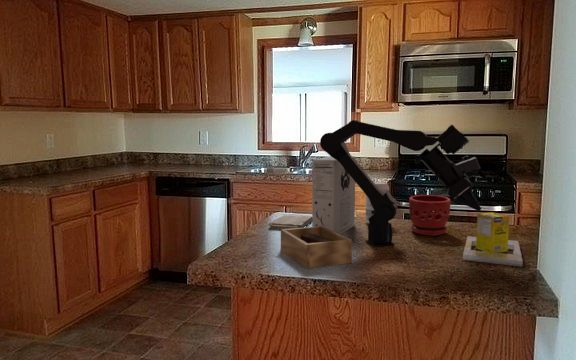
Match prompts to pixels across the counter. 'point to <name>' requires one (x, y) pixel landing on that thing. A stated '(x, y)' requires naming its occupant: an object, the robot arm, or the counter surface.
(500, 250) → the supplement box
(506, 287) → the counter surface
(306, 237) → the brick
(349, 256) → the oak box
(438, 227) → the plant pot
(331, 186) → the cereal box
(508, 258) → the plate
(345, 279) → the counter surface
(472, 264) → the counter surface
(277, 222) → the washcloth
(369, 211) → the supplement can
